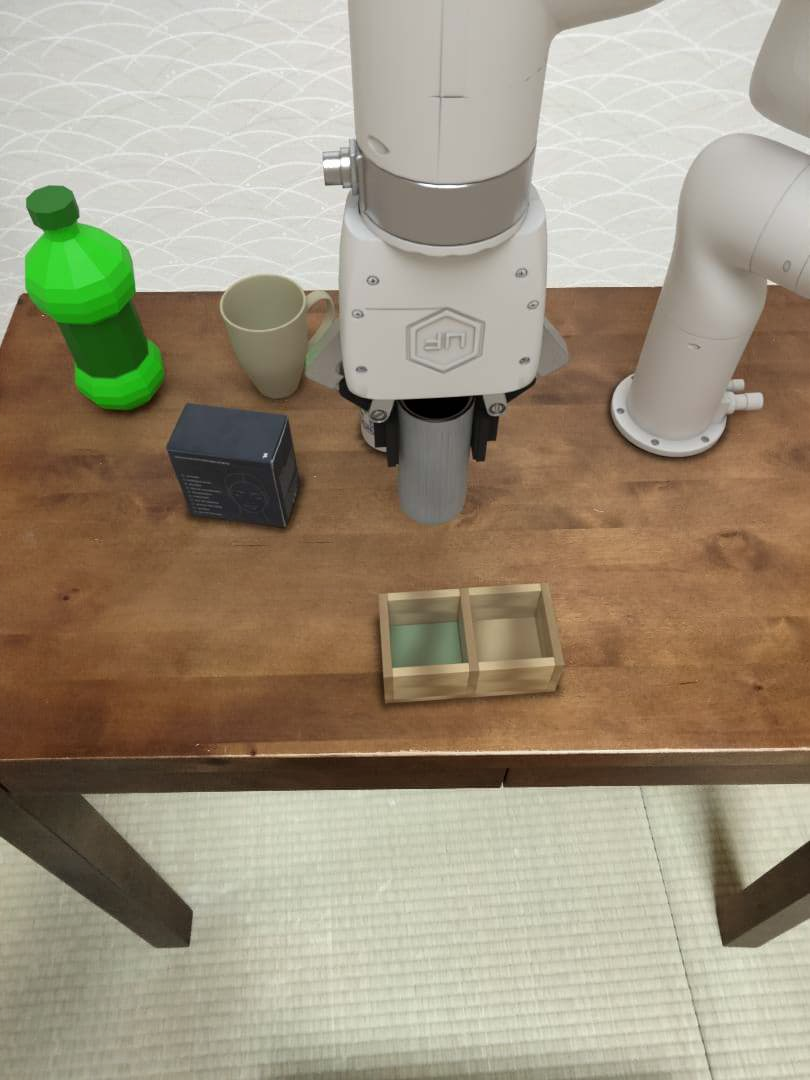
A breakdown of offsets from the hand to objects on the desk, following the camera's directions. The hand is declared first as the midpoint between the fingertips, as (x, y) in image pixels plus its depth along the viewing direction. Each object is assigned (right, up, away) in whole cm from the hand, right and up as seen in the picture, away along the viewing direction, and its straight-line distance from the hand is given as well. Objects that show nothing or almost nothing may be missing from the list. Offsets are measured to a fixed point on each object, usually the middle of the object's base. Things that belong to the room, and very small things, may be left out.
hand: (434, 444), depth 50 cm
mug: (-16, +13, +45) cm, 50 cm away
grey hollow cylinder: (0, -3, +5) cm, 6 cm away
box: (-19, -2, +36) cm, 40 cm away
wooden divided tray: (+4, -17, +25) cm, 31 cm away
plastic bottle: (-34, +11, +44) cm, 57 cm away
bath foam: (-3, +6, +41) cm, 41 cm away
